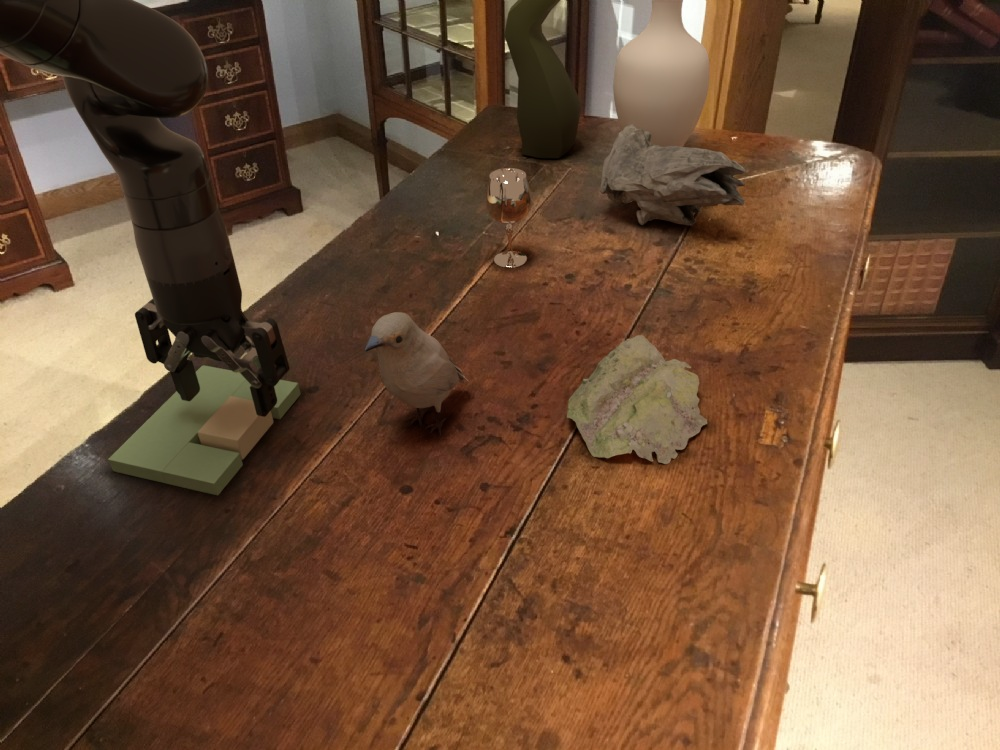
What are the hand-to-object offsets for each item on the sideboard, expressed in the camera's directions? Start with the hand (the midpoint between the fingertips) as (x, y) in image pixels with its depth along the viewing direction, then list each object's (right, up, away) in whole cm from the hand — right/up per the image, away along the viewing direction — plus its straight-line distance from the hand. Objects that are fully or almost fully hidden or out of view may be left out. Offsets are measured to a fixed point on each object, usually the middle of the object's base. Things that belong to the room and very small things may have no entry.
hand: (228, 403), depth 84 cm
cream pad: (0, -3, +3) cm, 5 cm away
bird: (+19, -2, +3) cm, 20 cm away
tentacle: (+34, +41, +60) cm, 80 cm away
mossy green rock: (+41, -1, +4) cm, 41 cm away
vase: (+52, +37, +54) cm, 83 cm away
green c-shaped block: (-3, -3, +4) cm, 6 cm away
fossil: (+51, +25, +38) cm, 68 cm away
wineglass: (+28, +18, +30) cm, 45 cm away
